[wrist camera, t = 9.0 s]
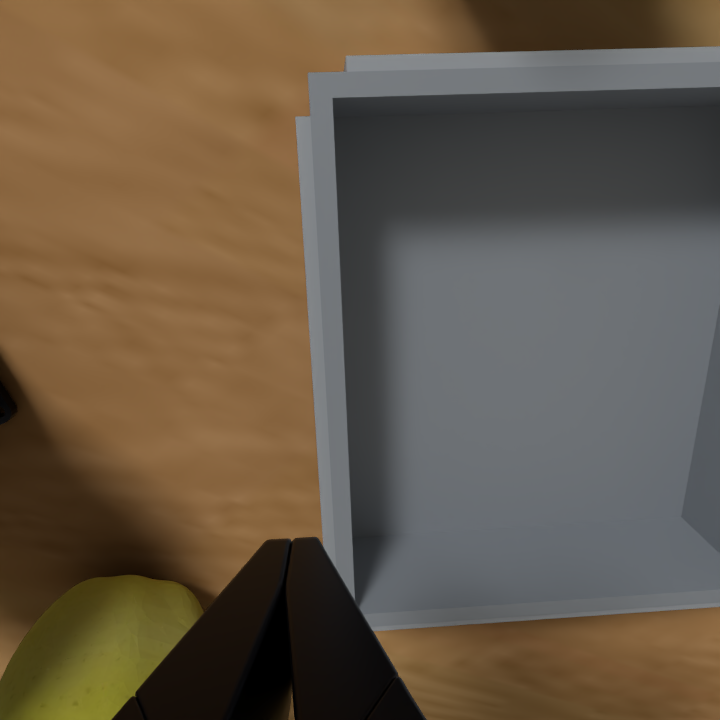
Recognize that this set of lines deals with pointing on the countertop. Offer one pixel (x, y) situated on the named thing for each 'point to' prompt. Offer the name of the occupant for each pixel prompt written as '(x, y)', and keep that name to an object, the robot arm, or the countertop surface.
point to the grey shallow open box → (516, 331)
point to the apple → (95, 648)
